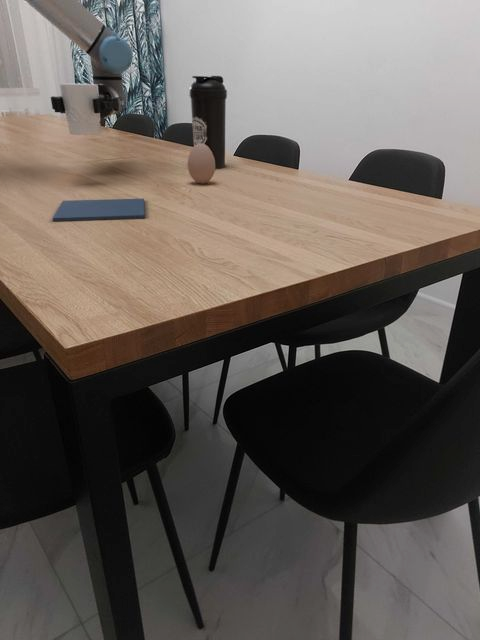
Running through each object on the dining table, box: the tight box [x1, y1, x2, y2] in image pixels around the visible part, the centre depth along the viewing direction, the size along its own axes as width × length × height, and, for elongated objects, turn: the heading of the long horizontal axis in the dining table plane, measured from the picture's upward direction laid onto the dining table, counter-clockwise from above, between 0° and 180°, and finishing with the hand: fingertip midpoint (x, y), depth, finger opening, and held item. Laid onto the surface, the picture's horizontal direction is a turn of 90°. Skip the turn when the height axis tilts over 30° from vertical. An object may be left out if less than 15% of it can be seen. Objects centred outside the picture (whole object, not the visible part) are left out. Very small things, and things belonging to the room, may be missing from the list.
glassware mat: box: [52, 198, 146, 222], centre depth 97 cm, size 16×14×1 cm
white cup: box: [59, 83, 102, 136], centre depth 111 cm, size 8×8×10 cm
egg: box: [187, 143, 216, 185], centre depth 120 cm, size 7×7×9 cm
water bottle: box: [188, 75, 228, 170], centre depth 139 cm, size 10×10×23 cm
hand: (75, 105), depth 107 cm, fingers closed on white cup, 8 cm apart
